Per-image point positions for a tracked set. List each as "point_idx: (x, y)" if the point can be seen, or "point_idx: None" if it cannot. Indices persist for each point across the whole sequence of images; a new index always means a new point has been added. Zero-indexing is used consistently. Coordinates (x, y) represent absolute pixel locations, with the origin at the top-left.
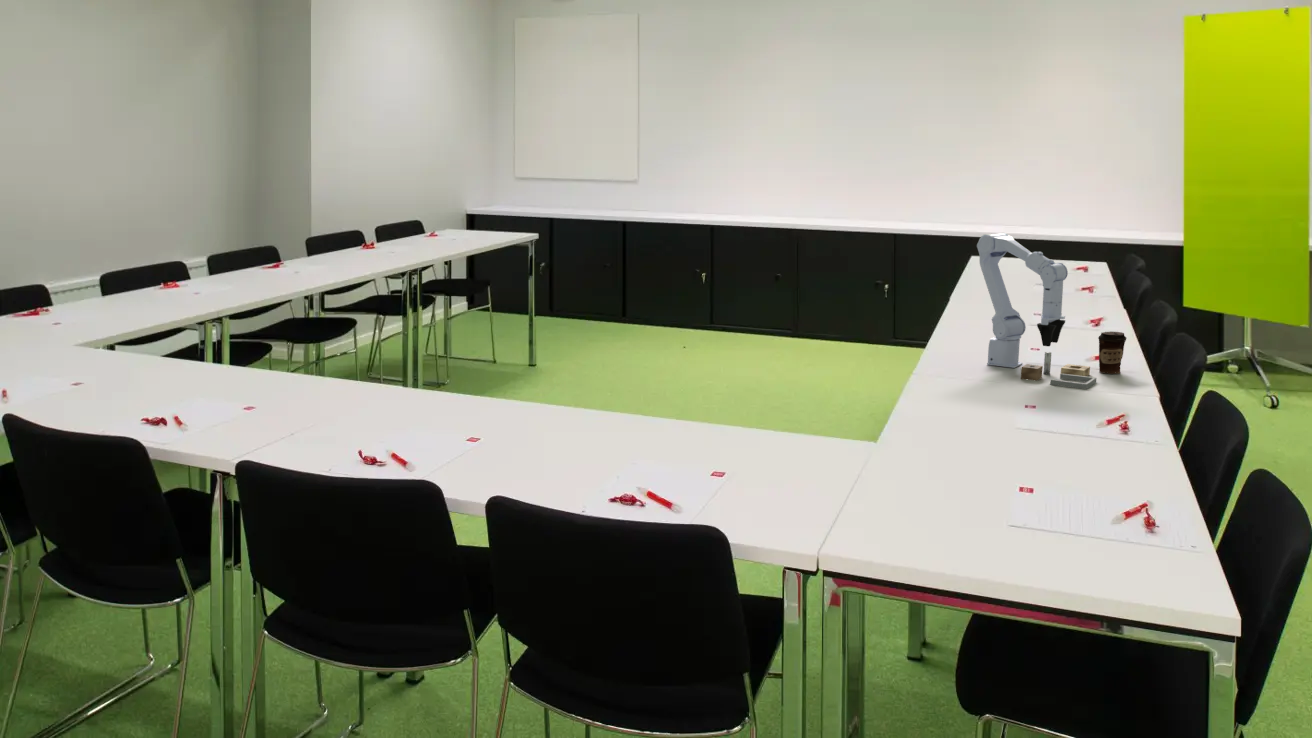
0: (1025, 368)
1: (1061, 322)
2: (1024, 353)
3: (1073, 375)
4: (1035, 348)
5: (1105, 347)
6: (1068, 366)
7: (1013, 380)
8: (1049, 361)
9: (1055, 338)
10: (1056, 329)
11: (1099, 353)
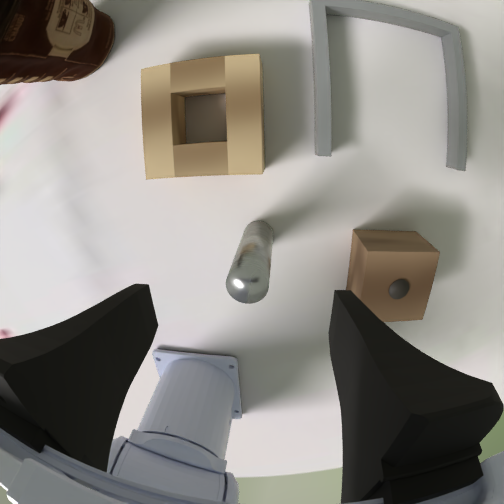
0: (425, 301)
1: (28, 385)
2: None
3: (330, 89)
4: (3, 337)
5: (44, 10)
6: (202, 153)
7: (435, 302)
8: (264, 247)
9: (137, 313)
10: (94, 364)
11: (37, 72)
